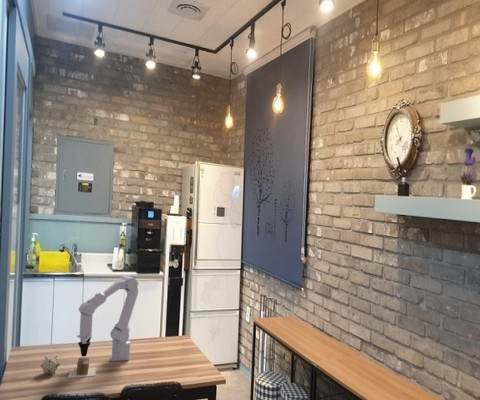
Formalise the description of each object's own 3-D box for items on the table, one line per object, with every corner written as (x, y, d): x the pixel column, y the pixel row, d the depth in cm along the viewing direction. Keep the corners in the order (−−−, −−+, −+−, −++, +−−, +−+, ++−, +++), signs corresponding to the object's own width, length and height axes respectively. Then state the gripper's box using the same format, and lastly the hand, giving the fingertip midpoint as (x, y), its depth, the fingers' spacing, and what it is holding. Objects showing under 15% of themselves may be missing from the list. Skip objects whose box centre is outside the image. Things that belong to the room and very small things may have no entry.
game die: (50, 382, 189) (49, 371, 183) (36, 374, 191) (35, 362, 185) (64, 368, 196) (63, 356, 191) (50, 359, 198) (49, 348, 192)
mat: (96, 368, 199) (96, 367, 199) (94, 376, 190) (95, 375, 190) (70, 370, 196) (70, 369, 196) (68, 378, 186) (68, 377, 186)
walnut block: (89, 357, 199) (88, 363, 191) (88, 367, 199) (87, 374, 191) (78, 357, 198) (77, 364, 189) (78, 367, 198) (76, 375, 189)
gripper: (78, 322, 206) (77, 348, 206) (76, 331, 192) (74, 359, 192) (93, 322, 208) (91, 348, 208) (91, 330, 194) (89, 358, 194)
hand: (84, 353), depth 200 cm, fingers open, 7 cm apart
